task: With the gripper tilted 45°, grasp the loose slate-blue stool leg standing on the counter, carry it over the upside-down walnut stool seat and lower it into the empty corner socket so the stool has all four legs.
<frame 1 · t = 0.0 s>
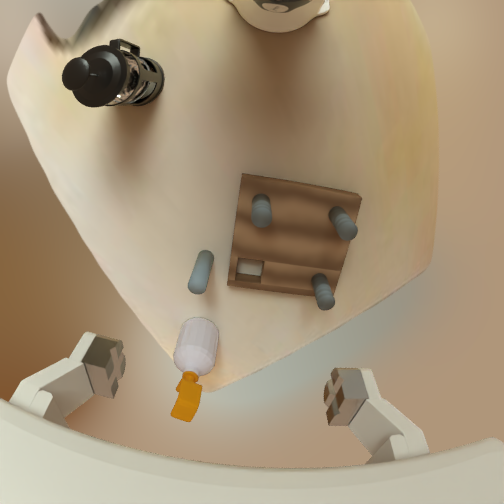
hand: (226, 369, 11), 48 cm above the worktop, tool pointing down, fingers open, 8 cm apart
stool leg: (205, 257, 63), on the worktop
stool: (290, 237, 61), on the worktop
white orange spray bottle: (200, 330, 72), on the worktop
french press: (140, 79, 48), on the worktop
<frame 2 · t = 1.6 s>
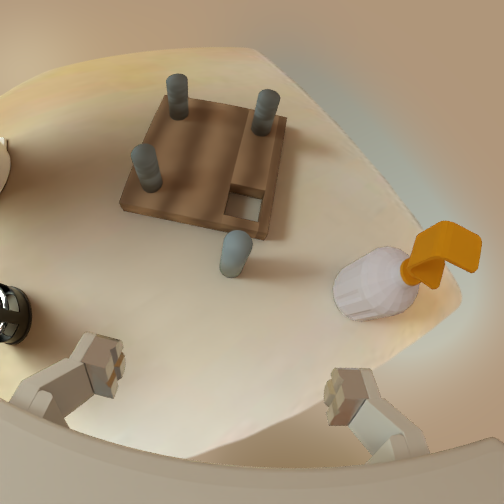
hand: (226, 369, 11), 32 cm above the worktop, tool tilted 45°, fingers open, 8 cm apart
stool leg: (230, 266, 45), on the worktop
stool: (208, 163, 49), on the worktop
white orange spray bottle: (357, 292, 47), on the worktop
french press: (9, 315, 38), on the worktop
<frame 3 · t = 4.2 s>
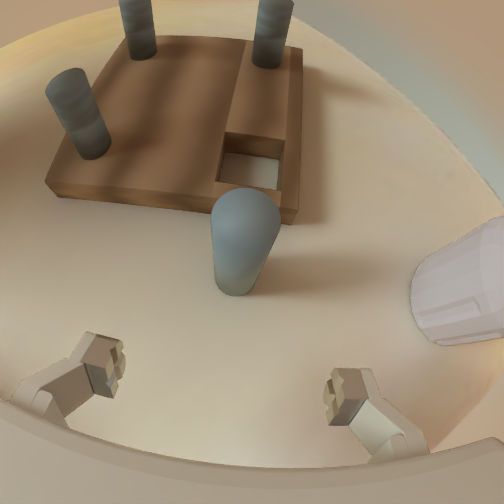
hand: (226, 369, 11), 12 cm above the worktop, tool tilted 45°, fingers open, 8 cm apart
stool leg: (235, 276, 25), on the worktop
stool: (189, 114, 29), on the worktop
white orange spray bottle: (442, 300, 26), on the worktop
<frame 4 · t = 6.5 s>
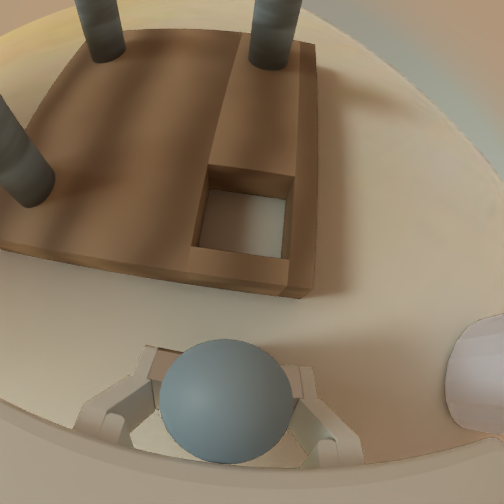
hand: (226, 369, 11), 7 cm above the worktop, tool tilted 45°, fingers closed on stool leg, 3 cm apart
stool leg: (224, 373, 17), on the worktop, touching gripper
stool: (163, 133, 22), on the worktop
white orange spray bottle: (479, 375, 18), on the worktop
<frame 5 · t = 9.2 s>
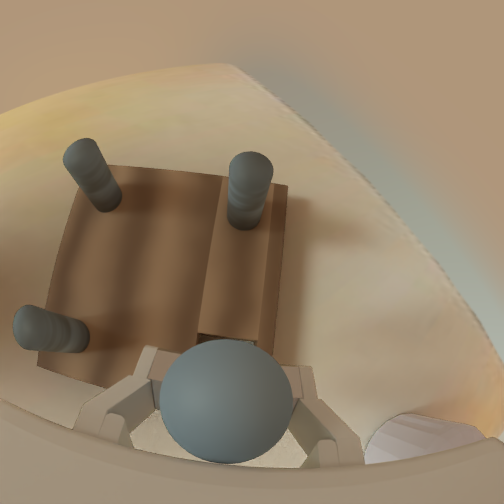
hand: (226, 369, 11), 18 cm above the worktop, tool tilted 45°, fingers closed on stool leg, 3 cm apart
stool leg: (223, 373, 17), point 12 cm above the worktop, touching gripper
stool: (162, 282, 30), on the worktop
white orange spray bottle: (397, 449, 26), on the worktop
when the fingers open (8 cm above the worktop, at t = 11.8 s): stool leg drops 1 cm, resting in stool.
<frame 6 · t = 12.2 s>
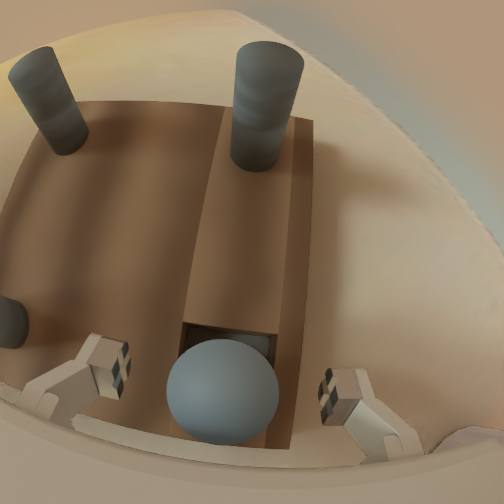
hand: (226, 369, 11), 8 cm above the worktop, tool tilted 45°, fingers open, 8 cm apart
stool leg: (222, 371, 18), resting in stool
stool: (136, 251, 20), on the worktop
white orange spray bottle: (451, 472, 17), on the worktop
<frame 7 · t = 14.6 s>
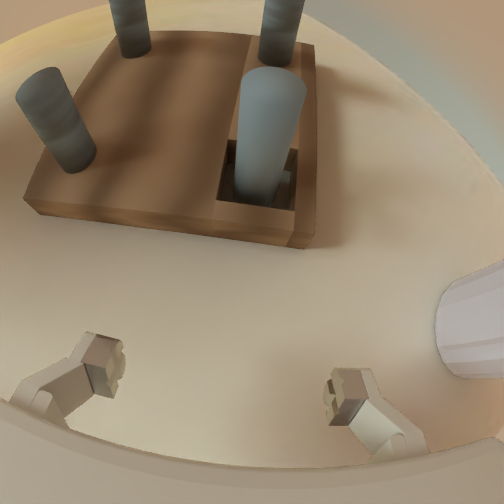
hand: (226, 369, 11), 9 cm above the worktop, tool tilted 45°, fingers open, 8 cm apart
stool leg: (254, 193, 24), resting in stool
stool: (186, 118, 26), on the worktop
white orange spray bottle: (467, 328, 22), on the worktop
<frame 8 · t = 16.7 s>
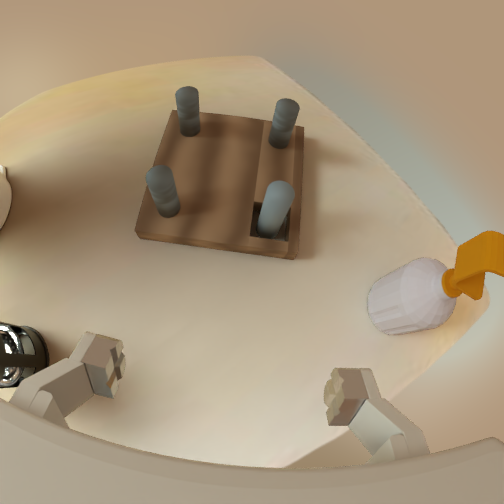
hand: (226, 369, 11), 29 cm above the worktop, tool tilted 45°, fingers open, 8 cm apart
stool leg: (267, 229, 45), resting in stool
stool: (226, 181, 47), on the worktop
white orange spray bottle: (391, 305, 43), on the worktop
french press: (24, 356, 35), on the worktop
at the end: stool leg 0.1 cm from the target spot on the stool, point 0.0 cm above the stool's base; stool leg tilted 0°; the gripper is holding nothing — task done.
